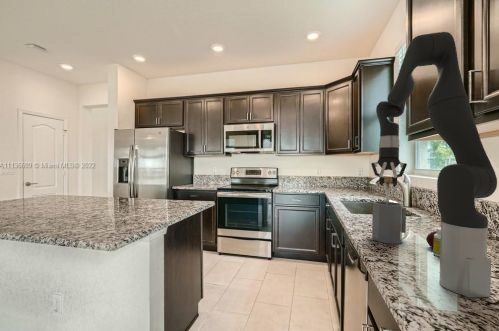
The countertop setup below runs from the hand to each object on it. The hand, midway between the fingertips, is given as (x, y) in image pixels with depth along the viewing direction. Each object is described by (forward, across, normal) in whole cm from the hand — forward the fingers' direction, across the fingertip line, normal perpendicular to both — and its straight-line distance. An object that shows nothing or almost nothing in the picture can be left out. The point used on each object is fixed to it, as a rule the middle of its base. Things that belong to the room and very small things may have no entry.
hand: (387, 186), depth 104 cm
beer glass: (+24, -2, -16) cm, 29 cm away
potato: (+24, -18, +1) cm, 30 cm away
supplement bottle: (+24, -18, +10) cm, 31 cm away
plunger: (+14, 0, 0) cm, 14 cm away
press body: (+24, -1, -1) cm, 24 cm away
